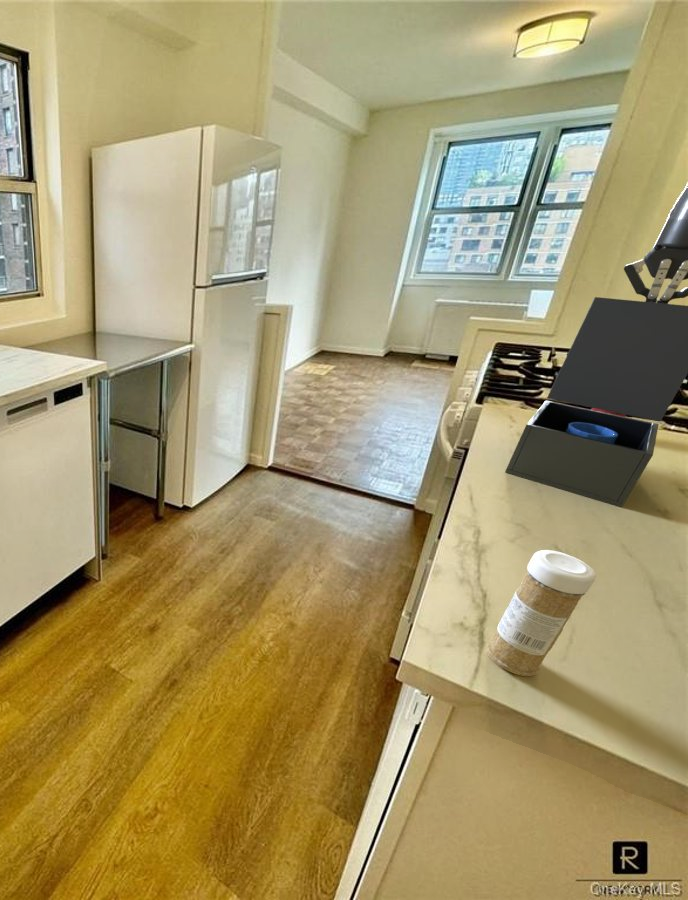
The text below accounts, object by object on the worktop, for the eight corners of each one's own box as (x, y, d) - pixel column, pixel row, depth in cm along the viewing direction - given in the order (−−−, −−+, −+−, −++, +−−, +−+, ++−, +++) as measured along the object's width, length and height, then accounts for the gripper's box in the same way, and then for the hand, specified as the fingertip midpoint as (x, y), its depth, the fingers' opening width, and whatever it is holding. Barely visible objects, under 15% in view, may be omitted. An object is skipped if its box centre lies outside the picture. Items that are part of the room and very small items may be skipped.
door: (724, 309, 79) (723, 309, 80) (594, 297, 90) (595, 297, 90) (660, 421, 86) (660, 421, 86) (546, 398, 96) (547, 398, 97)
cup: (594, 467, 90) (616, 428, 87) (596, 480, 86) (619, 440, 82) (550, 457, 94) (568, 419, 90) (549, 468, 90) (569, 429, 86)
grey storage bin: (621, 507, 80) (653, 454, 75) (504, 472, 90) (526, 424, 86) (630, 471, 91) (658, 423, 86) (525, 444, 101) (545, 400, 97)
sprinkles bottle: (543, 664, 52) (604, 567, 46) (528, 685, 50) (590, 586, 44) (492, 636, 55) (543, 542, 49) (476, 655, 53) (527, 558, 47)
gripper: (760, 218, 80) (700, 323, 88) (646, 216, 89) (600, 312, 97) (764, 218, 76) (700, 329, 83) (644, 216, 84) (596, 317, 92)
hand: (646, 319), depth 90 cm, fingers closed
